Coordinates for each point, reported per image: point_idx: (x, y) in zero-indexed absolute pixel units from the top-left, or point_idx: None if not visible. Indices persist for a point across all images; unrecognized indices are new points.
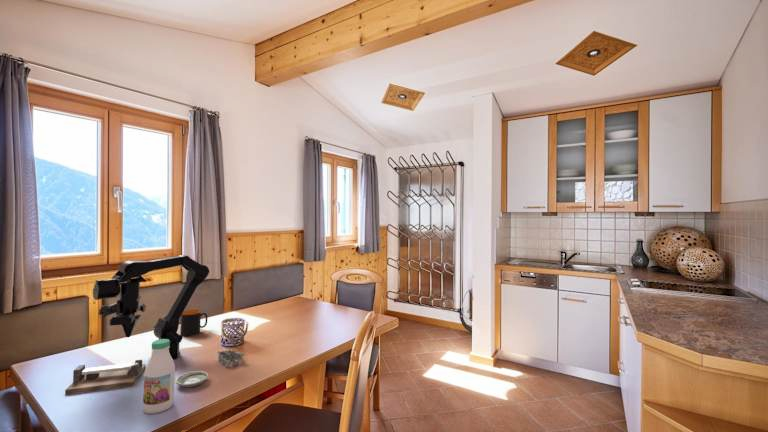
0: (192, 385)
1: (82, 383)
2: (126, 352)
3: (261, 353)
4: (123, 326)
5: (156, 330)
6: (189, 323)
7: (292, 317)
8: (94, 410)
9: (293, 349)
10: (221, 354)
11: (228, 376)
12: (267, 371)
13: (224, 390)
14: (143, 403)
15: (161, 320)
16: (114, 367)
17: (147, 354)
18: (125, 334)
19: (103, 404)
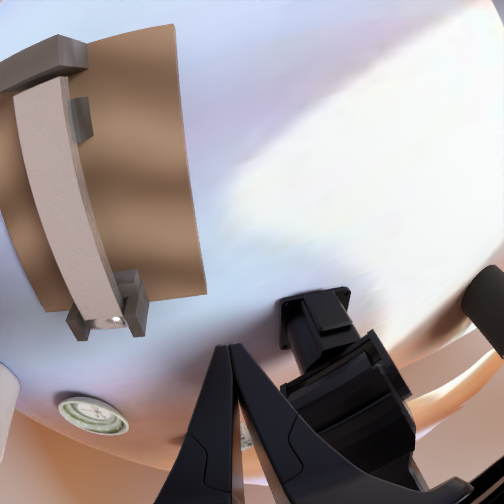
0: (70, 415)
1: (14, 121)
2: (430, 129)
3: (253, 452)
4: (171, 480)
5: (356, 401)
6: (490, 325)
7: (428, 416)
8: None
9: (258, 469)
10: (244, 432)
11: (137, 440)
12: (161, 464)
13: (81, 436)
14: None
15: (374, 462)
16: (59, 243)
17: (375, 227)
18: (207, 372)
19: None
